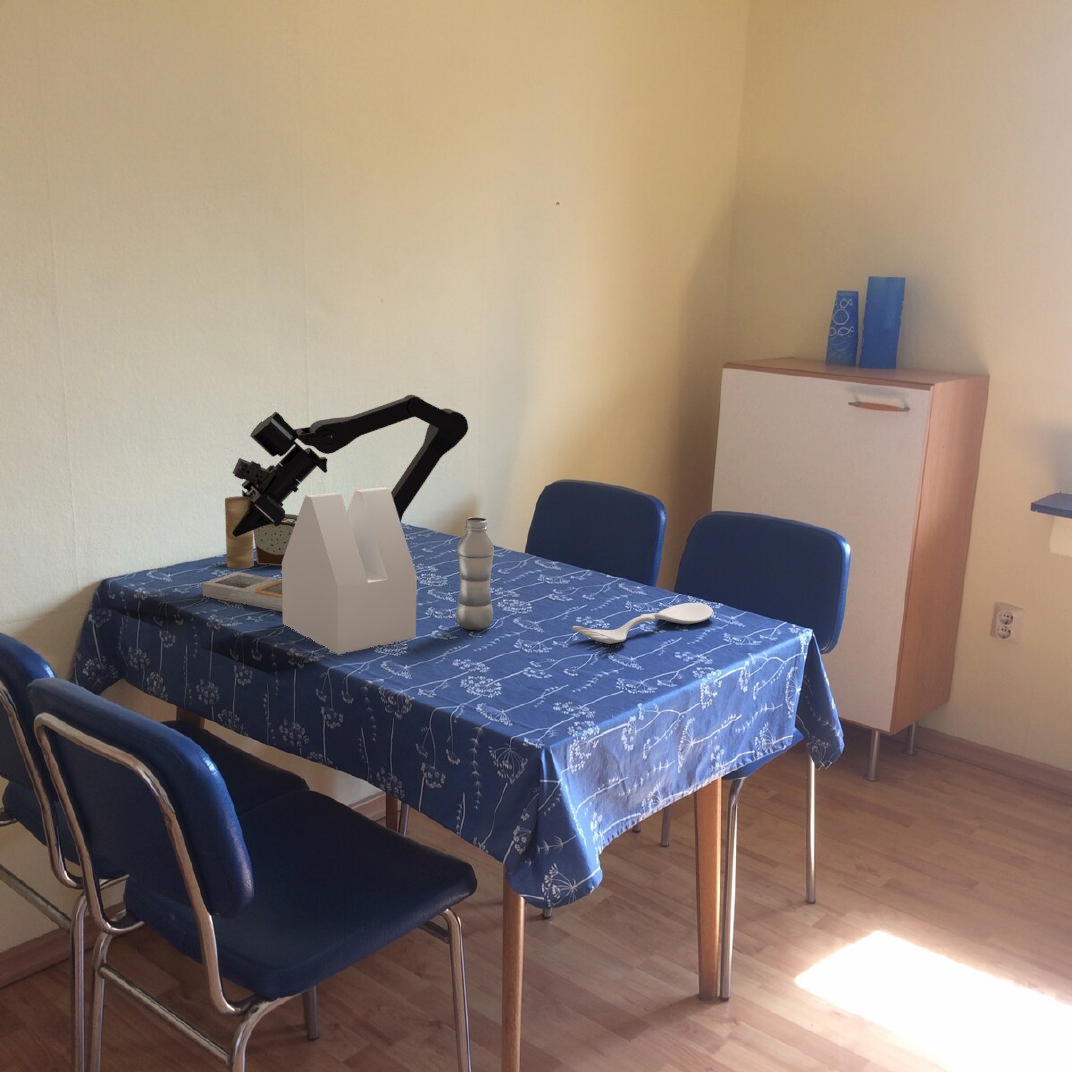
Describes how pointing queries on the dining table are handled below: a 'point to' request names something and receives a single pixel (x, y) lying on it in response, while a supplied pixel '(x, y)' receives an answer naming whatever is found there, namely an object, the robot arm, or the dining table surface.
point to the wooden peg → (242, 545)
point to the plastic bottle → (475, 576)
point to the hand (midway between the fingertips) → (231, 532)
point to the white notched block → (349, 573)
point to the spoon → (675, 614)
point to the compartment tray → (246, 590)
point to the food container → (274, 540)
